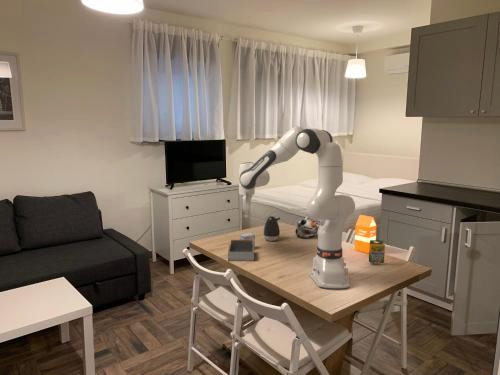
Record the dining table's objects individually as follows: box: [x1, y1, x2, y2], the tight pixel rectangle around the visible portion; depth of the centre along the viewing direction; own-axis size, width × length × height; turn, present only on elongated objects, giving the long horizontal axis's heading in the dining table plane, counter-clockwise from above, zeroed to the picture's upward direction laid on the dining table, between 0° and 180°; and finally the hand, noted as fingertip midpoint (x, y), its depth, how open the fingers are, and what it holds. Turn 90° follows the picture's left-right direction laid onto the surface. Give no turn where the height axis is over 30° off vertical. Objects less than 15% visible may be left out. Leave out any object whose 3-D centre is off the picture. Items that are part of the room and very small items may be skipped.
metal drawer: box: [227, 239, 255, 262], centre depth 206 cm, size 14×14×8 cm
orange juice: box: [354, 214, 377, 254], centre depth 218 cm, size 8×9×20 cm
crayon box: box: [368, 239, 386, 264], centre depth 198 cm, size 7×3×12 cm, turn 89°
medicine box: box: [239, 232, 256, 250], centre depth 219 cm, size 8×4×9 cm, turn 130°
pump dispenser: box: [263, 215, 281, 242], centre depth 237 cm, size 10×10×15 cm
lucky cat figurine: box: [294, 218, 320, 239], centre depth 243 cm, size 15×12×14 cm
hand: (246, 215), depth 214 cm, fingers open, 7 cm apart
